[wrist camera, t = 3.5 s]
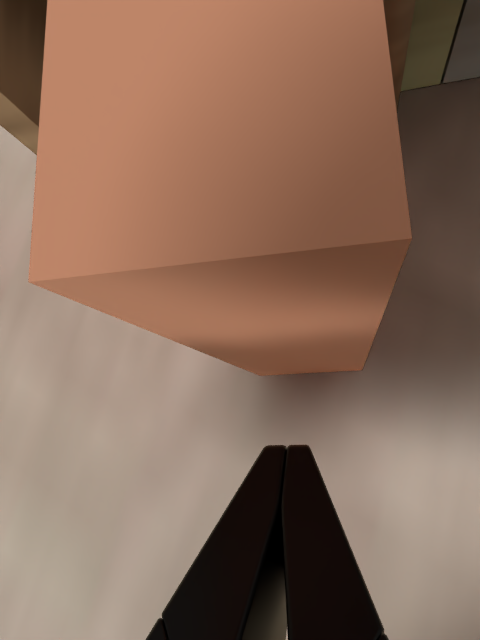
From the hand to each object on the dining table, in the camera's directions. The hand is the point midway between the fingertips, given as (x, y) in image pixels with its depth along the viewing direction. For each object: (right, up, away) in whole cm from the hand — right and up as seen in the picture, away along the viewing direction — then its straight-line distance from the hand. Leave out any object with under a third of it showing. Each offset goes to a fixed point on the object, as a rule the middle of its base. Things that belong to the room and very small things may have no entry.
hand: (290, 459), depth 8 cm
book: (+1, +5, +8) cm, 9 cm away
